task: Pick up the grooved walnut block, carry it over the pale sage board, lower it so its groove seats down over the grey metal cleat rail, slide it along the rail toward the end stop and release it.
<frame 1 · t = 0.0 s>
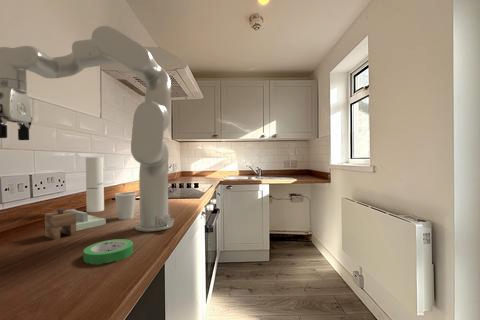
hand: (13, 139, 85), 31 cm above the table, tool pointing down, fingers open, 9 cm apart
walnut block: (60, 235, 82), on the table
cylindrical container: (95, 211, 120), on the table
cleat board: (77, 224, 94), on the table
tape roll: (109, 257, 64), on the table
dixie cup: (125, 218, 105), on the table
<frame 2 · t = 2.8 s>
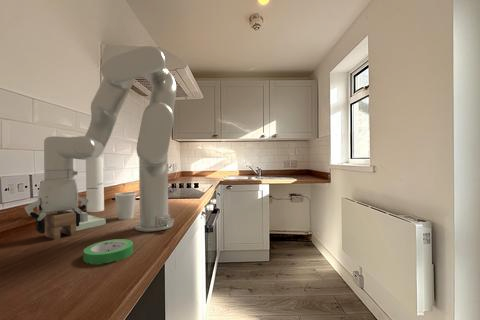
hand: (59, 229, 82), 2 cm above the table, tool pointing down, fingers open, 9 cm apart
nothing on the table moved.
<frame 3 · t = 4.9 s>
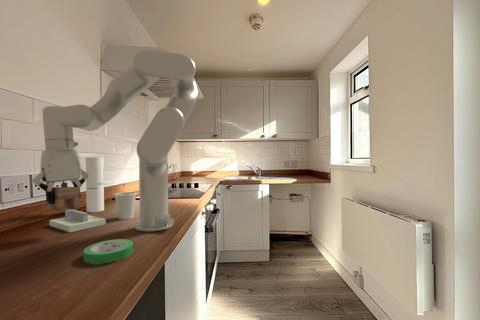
hand: (64, 201, 82), 11 cm above the table, tool pointing down, fingers closed on walnut block, 6 cm apart
walnut block: (63, 209, 81), point 8 cm above the table, touching gripper
everything else where it was.
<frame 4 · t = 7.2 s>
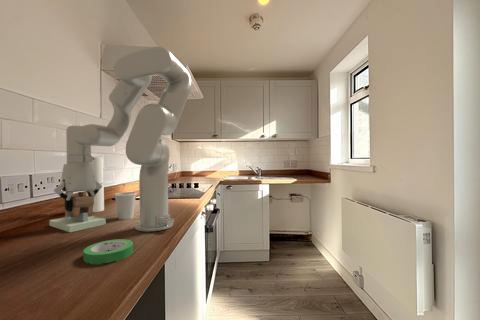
hand: (79, 208, 93), 6 cm above the table, tool pointing down, fingers closed on walnut block, 6 cm apart
walnut block: (78, 215, 93), point 4 cm above the table, tilted 7°, touching gripper
everything else where it was.
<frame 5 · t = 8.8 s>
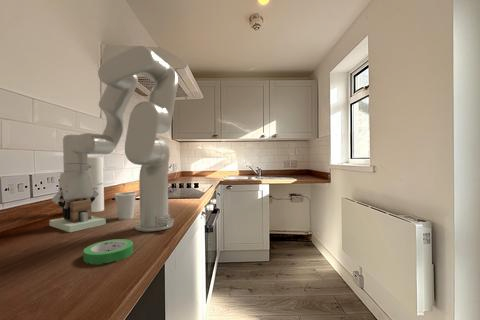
hand: (77, 216, 94), 3 cm above the table, tool pointing down, fingers closed on walnut block, 6 cm apart
walnut block: (78, 219, 94), point 2 cm above the table, touching cleat board, gripper
everything else where it was.
when the fingers open (3 cm above the table, at t = 9.5 s): walnut block stays where it is, resting on cleat board.
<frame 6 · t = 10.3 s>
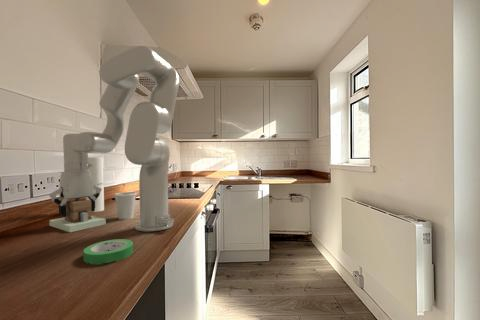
hand: (78, 213, 94), 4 cm above the table, tool pointing down, fingers open, 9 cm apart
walnut block: (78, 219, 94), point 2 cm above the table, touching cleat board
everything else where it was.
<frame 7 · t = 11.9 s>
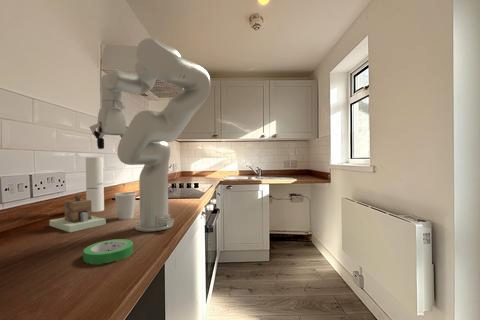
hand: (113, 149, 103), 28 cm above the table, tool pointing down, fingers open, 9 cm apart
nothing on the table moved.
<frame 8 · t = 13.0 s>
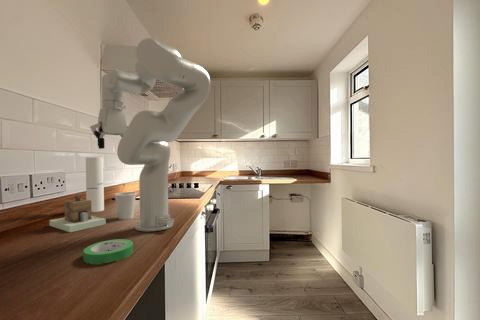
hand: (113, 148, 104), 28 cm above the table, tool pointing down, fingers open, 9 cm apart
nothing on the table moved.
at the end: walnut block 1.6 cm from the target spot on the cleat board, point 2.0 cm above the cleat board's base; the gripper is holding nothing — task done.
